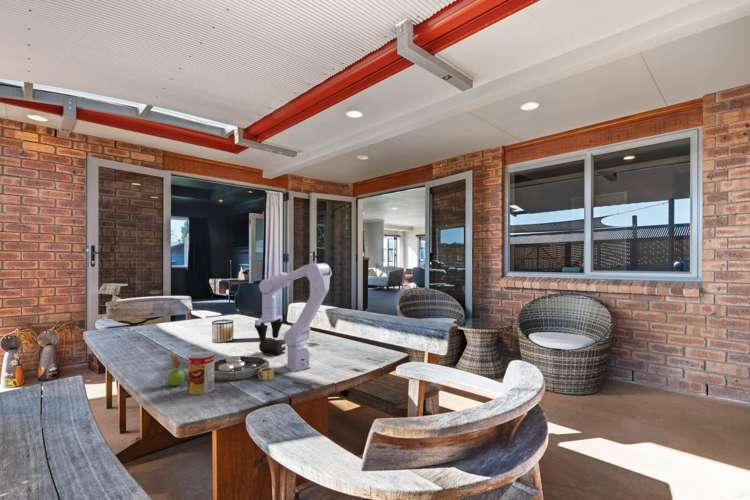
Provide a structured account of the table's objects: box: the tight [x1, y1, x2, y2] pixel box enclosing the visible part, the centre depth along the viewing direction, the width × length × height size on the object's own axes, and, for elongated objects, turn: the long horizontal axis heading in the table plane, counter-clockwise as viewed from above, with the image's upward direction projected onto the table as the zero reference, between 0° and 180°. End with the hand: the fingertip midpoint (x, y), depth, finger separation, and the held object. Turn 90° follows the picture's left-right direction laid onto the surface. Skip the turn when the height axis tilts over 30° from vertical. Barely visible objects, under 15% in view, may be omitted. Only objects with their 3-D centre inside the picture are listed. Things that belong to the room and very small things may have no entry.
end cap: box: [258, 337, 287, 356], centre depth 168 cm, size 10×7×7 cm
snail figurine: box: [166, 348, 186, 387], centre depth 127 cm, size 5×6×12 cm
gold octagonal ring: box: [257, 366, 275, 381], centre depth 134 cm, size 5×5×3 cm
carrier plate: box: [214, 355, 270, 382], centre depth 142 cm, size 22×22×4 cm
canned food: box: [187, 350, 215, 395], centre depth 122 cm, size 8×8×12 cm
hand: (269, 339), depth 154 cm, fingers open, 7 cm apart
